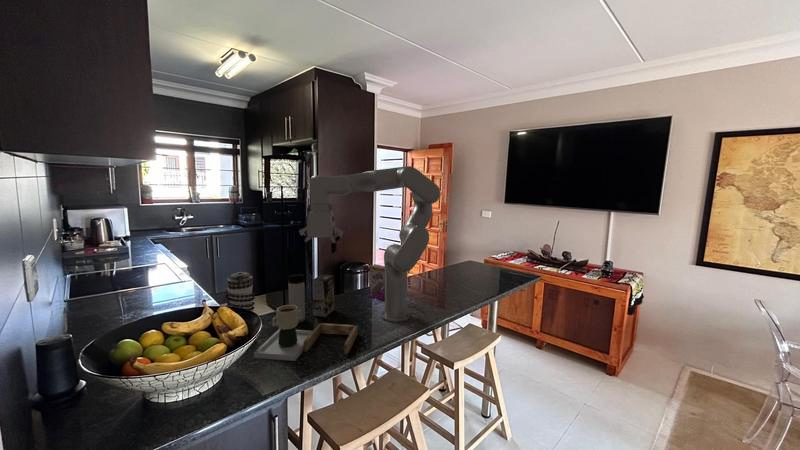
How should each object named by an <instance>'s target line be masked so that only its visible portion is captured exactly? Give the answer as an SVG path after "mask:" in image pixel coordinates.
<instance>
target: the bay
mask: <svg viewBox="0 0 800 450" xmlns="http://www.w3.org/2000/svg"><path fill="white" fill-rule="evenodd" d="M311 331H312V332H311V333H310V335H309V336H308V337H307V338H306V340H305V341H304V350H303V352H305V353H307V352H308V351H309V350H310V349H311V348H312V346H313V345H314V343H315V342H316V341H317V340H318V338H319V337H320V336H321V334H325V335H326V334H327V335H343V336H344V335H345V336H347V339H346V340H345V342H344V344H343V355H347V356H348V355H349V352H350V350H351V349H352V347H353V345H354V342H355V340H356V339H357V336H358V335H359V332H358V331H359V325H356V324H339V323H327V322H326V323H325V322H324V323H322V322H319V323H318V324H317V325H316V326H315V327H314V328H313V330H311Z"/></svg>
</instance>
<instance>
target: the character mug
mask: <svg viewBox="0 0 800 450" xmlns="http://www.w3.org/2000/svg"><path fill="white" fill-rule="evenodd" d="M275 313H276V314H275V316H274V317H272V319H271V326H272V327H277V328H278V329H280V332H279V342H278V344H279V345H281V346H292V345H294V344H296V343H297V334H296V330H297V329H296V327H297V326H298V324H299V323H298V319H300V318H302V311H301V310H298V307H297V306H295V305H289V304H285V305H281V306H279V307H277V308H276V312H275ZM298 313H299V316H298Z"/></svg>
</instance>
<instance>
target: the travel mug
mask: <svg viewBox="0 0 800 450" xmlns="http://www.w3.org/2000/svg"><path fill="white" fill-rule="evenodd" d="M305 289H306V288H305V274H304V273H297V274H288V305H295V306H297V307H298V310H301V311H302V318H300V319H298V324H300V323H303V322H305V321H306V299H305V295H306V293H305V292H306V291H305ZM298 316H299V313H298Z"/></svg>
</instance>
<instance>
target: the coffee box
mask: <svg viewBox="0 0 800 450" xmlns="http://www.w3.org/2000/svg"><path fill="white" fill-rule="evenodd" d="M334 310H335V275H333V274H332V275H331V274H320V275H318V276H317V277H315V278H313V279H312V316H315V317H324V318H325V317H328V316H329V314H331V313H332V312H333V311H334Z"/></svg>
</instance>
